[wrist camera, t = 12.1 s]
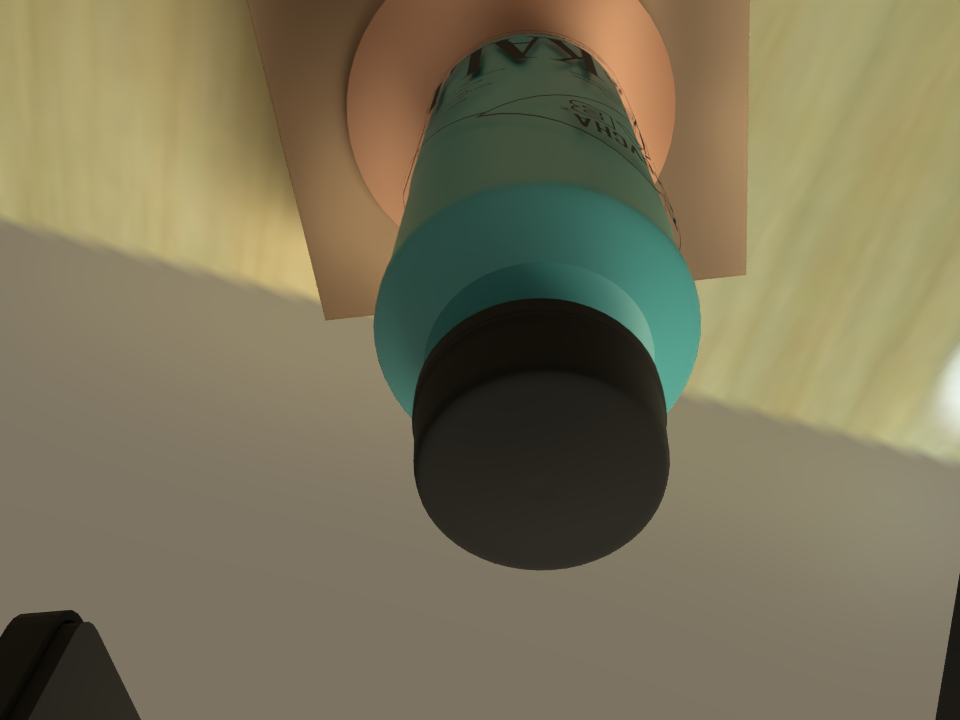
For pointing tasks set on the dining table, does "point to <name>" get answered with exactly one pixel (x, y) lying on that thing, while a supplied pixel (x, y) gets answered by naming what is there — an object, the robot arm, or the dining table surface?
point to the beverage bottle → (536, 310)
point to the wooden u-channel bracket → (423, 62)
